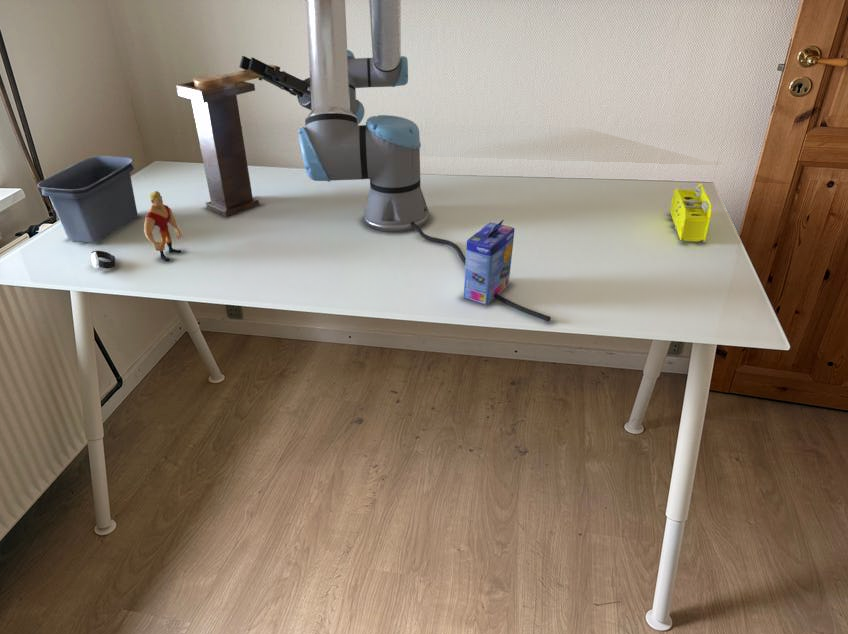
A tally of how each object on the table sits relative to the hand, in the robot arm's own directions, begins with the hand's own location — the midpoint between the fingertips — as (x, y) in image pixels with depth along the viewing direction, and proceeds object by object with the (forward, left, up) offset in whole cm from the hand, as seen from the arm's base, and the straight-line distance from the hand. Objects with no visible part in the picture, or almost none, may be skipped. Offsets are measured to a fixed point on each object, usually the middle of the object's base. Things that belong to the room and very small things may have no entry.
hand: (246, 62), depth 161 cm
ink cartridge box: (-76, -10, -33) cm, 83 cm away
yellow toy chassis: (-82, -63, -33) cm, 108 cm away
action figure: (-20, +33, -33) cm, 51 cm away
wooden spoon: (-1, +3, -4) cm, 5 cm away
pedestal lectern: (-2, +9, -33) cm, 34 cm away
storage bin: (+7, +41, -33) cm, 53 cm away
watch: (-15, +46, -33) cm, 58 cm away
